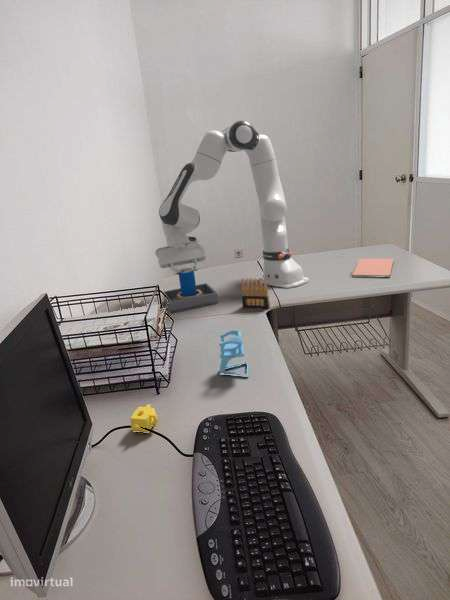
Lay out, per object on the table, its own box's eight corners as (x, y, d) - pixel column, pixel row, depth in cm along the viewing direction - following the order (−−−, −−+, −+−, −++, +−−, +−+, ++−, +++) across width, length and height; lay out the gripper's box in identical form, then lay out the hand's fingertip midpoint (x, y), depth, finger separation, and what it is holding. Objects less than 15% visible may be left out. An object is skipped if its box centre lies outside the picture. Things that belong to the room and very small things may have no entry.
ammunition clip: (270, 307, 158) (267, 277, 154) (268, 309, 156) (266, 279, 152) (244, 306, 162) (241, 277, 158) (242, 308, 160) (239, 279, 156)
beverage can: (182, 295, 175) (178, 268, 171) (196, 293, 176) (193, 267, 172) (182, 300, 169) (178, 273, 165) (197, 298, 170) (194, 271, 166)
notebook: (357, 261, 205) (357, 257, 204) (393, 262, 198) (393, 258, 197) (349, 278, 182) (349, 274, 181) (389, 279, 175) (389, 274, 174)
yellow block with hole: (151, 442, 90) (147, 422, 88) (128, 439, 91) (123, 420, 90) (165, 419, 97) (162, 401, 95) (143, 418, 99) (140, 399, 97)
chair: (220, 366, 118) (215, 328, 114) (248, 363, 118) (244, 326, 114) (219, 380, 111) (213, 340, 107) (249, 377, 111) (245, 338, 107)
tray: (164, 301, 178) (162, 291, 176) (208, 292, 183) (206, 283, 181) (171, 313, 163) (169, 302, 162) (218, 303, 169) (217, 292, 167)
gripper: (154, 244, 168) (161, 272, 163) (201, 236, 173) (210, 263, 168) (154, 253, 174) (161, 280, 168) (200, 245, 179) (208, 271, 173)
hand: (186, 272), depth 168 cm, fingers closed on beverage can, 6 cm apart
